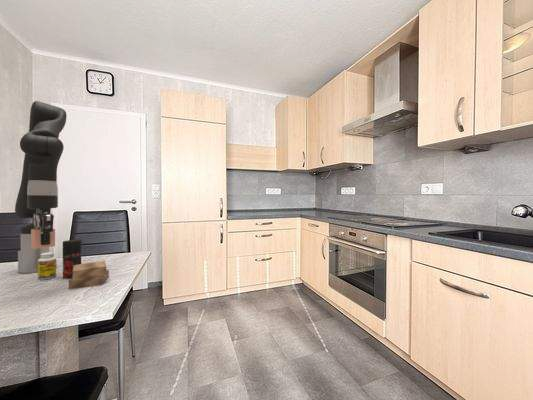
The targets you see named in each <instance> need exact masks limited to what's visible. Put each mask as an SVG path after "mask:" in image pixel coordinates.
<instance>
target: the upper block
mask: <svg viewBox="0 0 533 400" xmlns="http://www.w3.org/2000/svg"><path fill="white" fill-rule="evenodd" d="M105 261H106V260H101V261H95V262H94V261H93V262H88V263H87V262H86V263H81V264H79V265H74V266H73V281H76V280H81V279H87V278H93V277H98V276H104V275H106V270H107V264H106V262H105Z"/></svg>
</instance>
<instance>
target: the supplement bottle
mask: <svg viewBox="0 0 533 400" xmlns="http://www.w3.org/2000/svg"><path fill="white" fill-rule="evenodd" d="M56 276H57V257H56V256H55V253H54V252H52V251H51V252H50V251H49V253H42V254H41V258H40V259H39V260H38V272H37V280H39V281H46V280H52V279H54V278H56Z"/></svg>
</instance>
